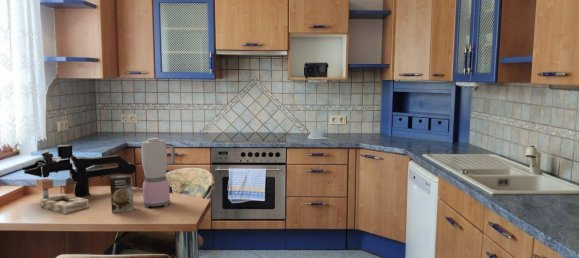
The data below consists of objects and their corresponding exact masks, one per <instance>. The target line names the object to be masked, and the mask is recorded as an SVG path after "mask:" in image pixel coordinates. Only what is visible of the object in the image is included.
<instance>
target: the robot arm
mask: <svg viewBox="0 0 579 258" xmlns="http://www.w3.org/2000/svg"><path fill="white" fill-rule="evenodd" d="M56 147H57V157H58V158H60V159H59V160H56V159H53V158H54V155H53V153H52V152H51V153H50V151H49V150H48V149H46V150H44V151H41V152H40V155H41V156H42V157H43V159H42V158H40V159H39V158H38V159H37V160H35V162H34V163H33V164H29V165H27V166H23V167H22V171H23V172H24V174H25V175H31V176H36V177H39V178H43V179H46V178H49V176H50V174H51V173H55V174H57V173H59V172H65V171H66V172H67V171H68V172H69V177H70V179H71V180H72V181H73V182H75V183H74V185H73V194H74V196H76V197H85V196H89V195H91V193H90V184H89V183H90V182H89V181H90V180H89V179H90V178H96V177H104V176H113V175H130V174H131V175H133V174H135V172H136V169H137V167H136V165H135V164H133V163H131V162H130V161H126V159H124V158H122V157H121V156H120V155H119V154H114V155H106V156H97V157H86V156H78V157H77V156H75V155H74V154H73V145H72V144H59V145H57V146H56ZM107 164H117V165H114V166H107V167H100V168H92V169H88V168H90V167H94V166H101V165H107ZM74 168H75V169H74Z"/></svg>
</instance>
